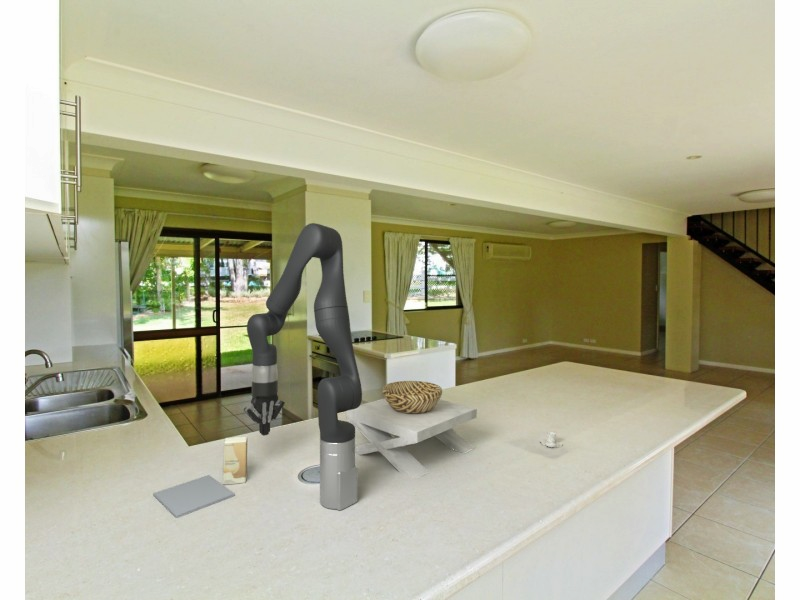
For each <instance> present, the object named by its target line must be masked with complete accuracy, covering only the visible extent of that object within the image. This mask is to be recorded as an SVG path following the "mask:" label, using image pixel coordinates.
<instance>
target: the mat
mask: <svg viewBox="0 0 800 600" xmlns="http://www.w3.org/2000/svg"><path fill="white" fill-rule="evenodd" d="M152 495H153V497H154V498H155V499H156V500H157V501H159V503H160V504H161V505H162V506H163V507H164V508H165V509H166V510H168V512H169V513H170V514H171V515H172V516H173V517H174V518H175V519H178V518H180V517H183V516H186V515H188V514H191V513H194V512H196V511H199V510H201V509H204V508H207V507H209V506H211V505H215V504H217V503H220V502H222V501H225V500H227V499H231V498H233V497H235V496H236V494H235V492H233V491H232V490H231V489H229V488H228V487H226V486H225V485H223V483H221V482H219V481H218V480H217V479H215V478H214V477H213V476H211V475H210V474H207V475H204V476H201V477H199V478H195V479H192V480H189V481H186V482H183V483H180V484H176V485H174V486H171V487H167V488H165V489H162V490H159V491H157V492H153V493H152Z"/></svg>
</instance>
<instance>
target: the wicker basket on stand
mask: <svg viewBox="0 0 800 600" xmlns="http://www.w3.org/2000/svg"><path fill="white" fill-rule="evenodd" d="M382 394H383V398H380V399H377V400H373V401H369V402H366V403H361V404H360V406H359V407H358V408H356V409H353V410H348V411H346V419H347V420H348V422H349V423H351V424H353V425H354V426H355V429H357V430H358V431H359V432H360V433H361V434H362V435H363V436H364V437H365V438H366V439H367V441H368V442H366V443H362V444H358V445H355V455H356V454H357V455H360V456H361V455H366V454H370V453H375V452H379V453H380V454H381V455H382V456H383V457H384V458H385V459H386V460H387V461H388V462H389V463H390V464H391V465H392V466H393V467H394V469H396V470H397V471H398V472H399V473H401V474H402V475H403V474H404V475H405V476H408V477H410V478H413V479H414V480H415V479H418V478H420V477H421V476H424V475H426V474H428V473H429V472H430V471H429V470H428V469H427V468H426V467H425V466H424V465H423V464H422V463H420V462H419V461H418V460H417V459H416V457H414V456H413V454H411V453H410V451H408V450H407V449H406V448H405V446H409V445H415V444H417V443H420V442H423V441H425V440H427V439H429V438H432V437H434V436H435V437H436V439H438V440H439V441H440V442H441V443H442V444H444V445H445V446H446V447H447V448H448V449H450V450H453V449H454V450H453V451H456V450H457V451H456V452H458V451H460V452H459V453H461V452H463V453H462V454H464V453H465V452H467V451H469V450H470V449H472V450H474V449H475V447H474V446H473V445H472V444H471V443H469V442H468V441H467V440H465V438H463V437H462V436H461V435H460V434H458V433H457V432H456V431H455V430H453V428H455V427H458V426H460V425H463V424H464V423H467V422H470V421H473V420H474V419H476V418H477V415H478V412H477V411H478V409H477V408H476V407H472V406H468V405H463V404H460V403H455V402H453V401H448V400H444V399H441V397H442V395H443V388H442V386H440V385H438V384H435V383H432V382H428V381H420V380H403V381H394V382H390V383H387V384H386V385H383V387H382ZM391 434H392V435H395V436H392V435H391ZM473 448H474V449H473ZM470 451H471V450H470ZM470 451H469V452H470ZM467 453H468V452H467ZM465 454H466V453H465Z"/></svg>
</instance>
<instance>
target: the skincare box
mask: <svg viewBox="0 0 800 600" xmlns="http://www.w3.org/2000/svg"><path fill="white" fill-rule="evenodd" d="M248 438H249V437H248V436H235V437H225V439H224V441H223V465H222V466H223V467H222V469H223V473H222V476H223V477H222V485H224V486H225V485H236V484H246V483H247V478H248V477H247V475H248V474H247V473H248Z"/></svg>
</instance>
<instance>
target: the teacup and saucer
mask: <svg viewBox="0 0 800 600" xmlns="http://www.w3.org/2000/svg"><path fill="white" fill-rule="evenodd" d="M556 434H557V433H556V432H552V431H547V432H546V439H547V441H545V443H544V444H545V445H546V446H545V447H547V446H548V448H552V447H556V446H557V444H556V443H555V440H556V437H557V436H556Z"/></svg>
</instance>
